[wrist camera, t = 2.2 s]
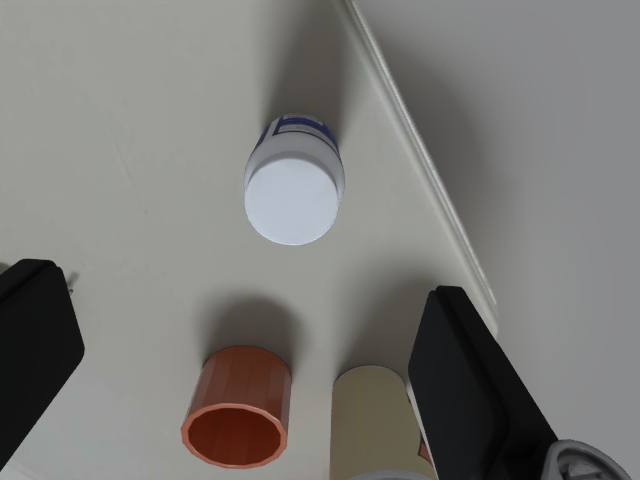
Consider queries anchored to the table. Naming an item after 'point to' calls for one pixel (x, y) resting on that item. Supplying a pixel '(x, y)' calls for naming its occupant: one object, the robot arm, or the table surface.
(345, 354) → the table surface
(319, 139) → the pill bottle
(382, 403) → the coffee cup
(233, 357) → the pen cup
